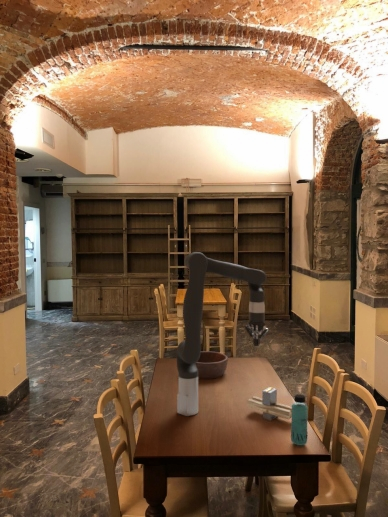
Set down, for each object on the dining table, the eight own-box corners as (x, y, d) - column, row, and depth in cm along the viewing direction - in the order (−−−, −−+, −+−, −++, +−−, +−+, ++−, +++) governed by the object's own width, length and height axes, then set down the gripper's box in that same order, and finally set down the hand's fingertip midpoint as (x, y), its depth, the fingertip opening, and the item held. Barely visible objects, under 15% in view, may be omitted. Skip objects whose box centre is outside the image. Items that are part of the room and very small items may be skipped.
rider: (270, 410, 187) (270, 392, 187) (262, 407, 190) (262, 390, 189) (276, 405, 192) (276, 388, 191) (268, 403, 194) (269, 386, 194)
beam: (288, 426, 181) (288, 412, 181) (246, 413, 195) (246, 400, 194) (295, 421, 187) (295, 407, 186) (254, 408, 200) (254, 395, 200)
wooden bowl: (179, 377, 244) (179, 360, 243) (195, 365, 267) (195, 349, 266) (219, 383, 234) (219, 365, 233) (233, 370, 257) (233, 353, 256)
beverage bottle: (287, 444, 166) (287, 395, 165) (296, 439, 170) (297, 391, 169) (301, 450, 161) (302, 400, 160) (310, 444, 166) (311, 395, 165)
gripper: (241, 310, 204) (240, 345, 205) (264, 313, 196) (264, 349, 197) (249, 308, 210) (249, 342, 211) (272, 311, 202) (272, 346, 203)
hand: (256, 345), depth 204 cm, fingers closed
